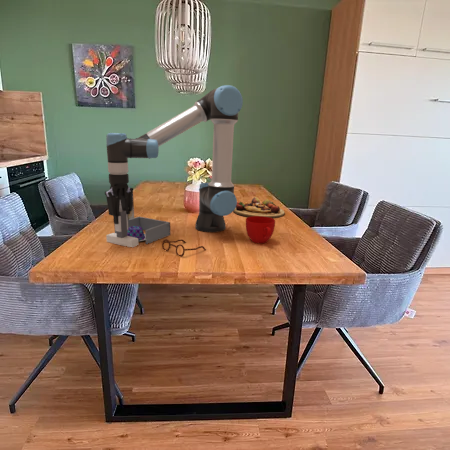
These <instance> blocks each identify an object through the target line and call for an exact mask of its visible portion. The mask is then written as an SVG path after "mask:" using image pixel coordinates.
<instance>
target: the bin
mask: <svg viewBox="0 0 450 450" xmlns="http://www.w3.org/2000/svg"><path fill="white" fill-rule="evenodd" d="M113 224H114V223H113ZM131 226H140V227H142V229H143V231H144V232H145V233H144V234H146V240H145V244H146V245H148V243H149V244H152V243H154V242H156V241H159V240H161V239H164V238H166V237H169V236H171V222H170V221H164V220H159V219H153V218H149V217H144V216H136V217H134V218H132V219H129V220H128V228H129V227H131ZM114 228H115V224H114ZM127 232H128V230H127ZM114 233H117V232H116V231H115V230H114ZM158 239H159V240H158ZM153 241H154V242H153Z"/></svg>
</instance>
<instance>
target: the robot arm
mask: <svg viewBox="0 0 450 450" xmlns="http://www.w3.org/2000/svg"><path fill="white" fill-rule="evenodd" d="M243 104H244V99H243V95H242V94H241V92H240V91H239V89H238V88H237V87H236V86H234V85H232V84H231V85H230V84H224V85H221V86H219V87H217V88H213V89H211V90H210V91H209V92H208V93H206V94H205V95H204V96H202V97H201V98H199V99H198V100H196V101H195V102H194V104H193V105H192V106H191V107H189V108H187V109H186V110H184V111H182V112H181V113H179V114H176V115H175V116H173V117H171V118H169V119H168V120H166V121H164V122H163V123H161V124H160V125H158V126H156V127H155V128H152V129H150V130H149V131H147V132H146V133H144V134H142V135H140V136H139V137H135V138H130V137H129V138H128V137H127V134H126V133H124V132H119V133H118V132H108V133H107V134H106V155H107V168H108V169H107V171H108V173H109V174H108V183H109V184H110V186H109V190H108V191H107V190H105V191H104V195H105V197H106V203H107V204H106V205H107V209H108V215H109V216H113V224H115V227H114V232H115V231H118V232H122V231H121V216H119V207H120V200H121V206H122V210H125V211H126V218H127V230H128V214H130V211H132V193H133V194H134V188H133V187H130V186H129V184H128V183H130V180H129V179H130V176H129V163H128V162H129V160H128V159H158V157H159V151H160V150H159V147H161V146H162V145H164V144H166V143H167V142H170V141H171V140H173V139H174V138H176V137H178V136H180V135H181V134H183V133H185V132H186V131H188V130H190V129H192V128H193V127H195V126H197V125H199V124H200V123H202V122H204V123H206V122H209V121H211V122H212V124H213V136H212V137H213V138H212V139H213V140H212V160H211V161H212V164H211V165H212V167H211V180H210V182H200V184H199V187H198V188H199V189H198V191H199V195H198V197H199V198H198V203H199V204H198V216H197V217H196V221H195V227H194V228H195V230H197V231H200V232H204V233H205V232H206V233H218V232H222V231H225V230H226V220H225V218H224V217H225V216H229V215H231V214H232V213H234V210H235V208H236V205H237V202H238V200H237V197H236V195H235V184H233V182H232V171H233V170H232V169H233V153H234V152H233V151H234V149H233V148H234V133H235V132H234V131H235V125H236V123H238V122H239V113H240V111H241V110H242V108H243Z"/></svg>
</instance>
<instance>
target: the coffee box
mask: <svg viewBox="0 0 450 450" xmlns="http://www.w3.org/2000/svg"><path fill="white" fill-rule="evenodd" d="M134 204H135V201H134V192H133V193H132V211H130V214H128V220H129V219H132V218H135V206H134ZM119 210H122V206H121V200H120V207H119Z"/></svg>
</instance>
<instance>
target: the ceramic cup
mask: <svg viewBox="0 0 450 450" xmlns="http://www.w3.org/2000/svg"><path fill="white" fill-rule="evenodd" d="M275 225H276V219H275V218H269V217H264V216H251V217H246V218H245V230H246V234H247V236H248V238H249V239H250V240H251V242H253V243H256V244H265V243H267V242H268V241H269V240H270V239H271V237H272V236H273V234H274V231H275Z"/></svg>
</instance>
